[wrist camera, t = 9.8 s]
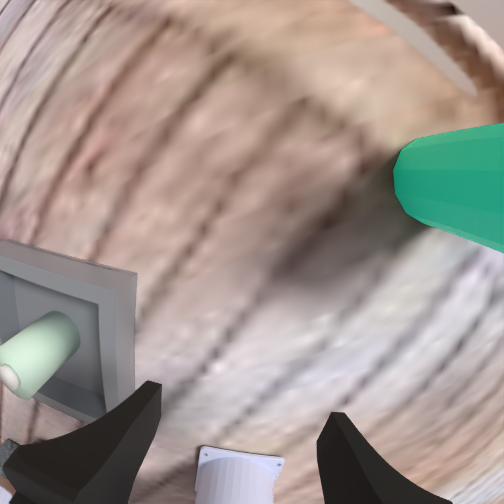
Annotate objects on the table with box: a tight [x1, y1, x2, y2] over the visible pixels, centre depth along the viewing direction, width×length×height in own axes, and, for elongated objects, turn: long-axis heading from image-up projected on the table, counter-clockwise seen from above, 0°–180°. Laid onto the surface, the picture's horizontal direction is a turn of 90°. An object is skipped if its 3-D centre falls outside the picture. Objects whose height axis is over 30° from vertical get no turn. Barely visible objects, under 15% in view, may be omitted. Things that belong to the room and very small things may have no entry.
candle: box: [393, 123, 504, 253], centre depth 12 cm, size 6×6×12 cm
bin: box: [0, 239, 137, 424], centre depth 20 cm, size 13×13×4 cm
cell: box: [0, 311, 80, 399], centre depth 17 cm, size 4×4×8 cm
